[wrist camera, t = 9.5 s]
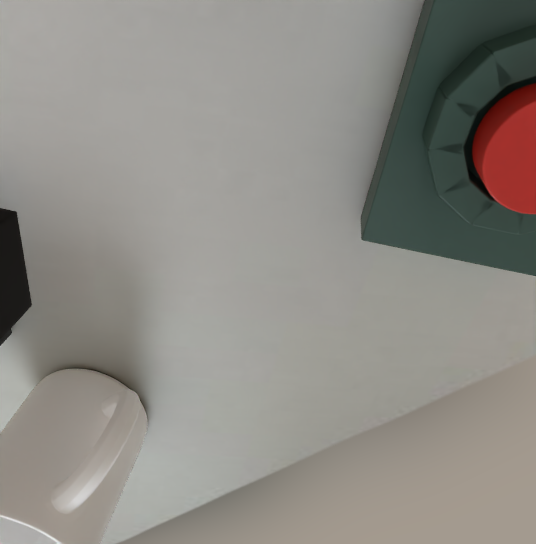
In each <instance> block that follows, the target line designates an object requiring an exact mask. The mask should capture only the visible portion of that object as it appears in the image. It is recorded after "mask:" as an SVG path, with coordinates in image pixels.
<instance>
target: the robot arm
mask: <svg viewBox="0 0 536 544" xmlns="http://www.w3.org/2000/svg"><path fill="white" fill-rule="evenodd" d="M31 306H32V303H31V297H30V291H29V285H28V279H27V273H26V266H25V260H24V254H23V248H22V242H21V236H20V230H19V224H18V217H17V212H16V211H11V210H6V209H1V208H0V340H1V339H2V337H3V336H4V335H5V334H6V333H7V332H8V331H9V330H10V329H11V328H12V326H13V325H14V324H15V323H16V322H17V321H18V320H19V319H20V318H21V317H22V316H23V314H24V313H25V312H26V311H27V310H28V309H29V308H30V307H31Z"/></svg>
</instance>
